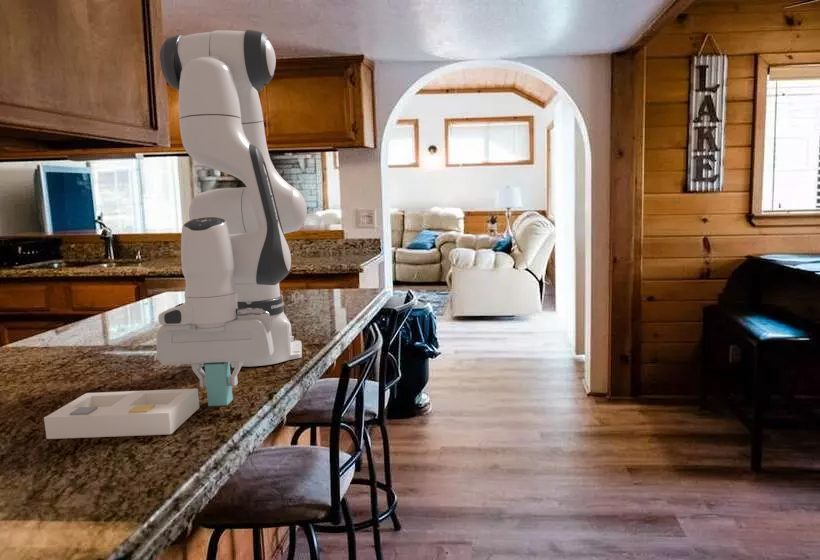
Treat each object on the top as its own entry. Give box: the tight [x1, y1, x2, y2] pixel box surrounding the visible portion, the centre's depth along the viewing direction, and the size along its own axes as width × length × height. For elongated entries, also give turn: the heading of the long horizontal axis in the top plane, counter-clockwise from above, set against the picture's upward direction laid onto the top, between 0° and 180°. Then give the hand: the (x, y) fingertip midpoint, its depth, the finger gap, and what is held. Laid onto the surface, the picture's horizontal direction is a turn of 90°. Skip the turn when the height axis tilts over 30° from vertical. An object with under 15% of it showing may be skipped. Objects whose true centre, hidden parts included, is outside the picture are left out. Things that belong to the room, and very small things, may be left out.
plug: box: [204, 362, 234, 407], centre depth 119 cm, size 3×3×8 cm
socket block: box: [43, 388, 200, 440], centre depth 111 cm, size 13×20×4 cm, turn 88°
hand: (219, 385), depth 119 cm, fingers closed on plug, 3 cm apart
